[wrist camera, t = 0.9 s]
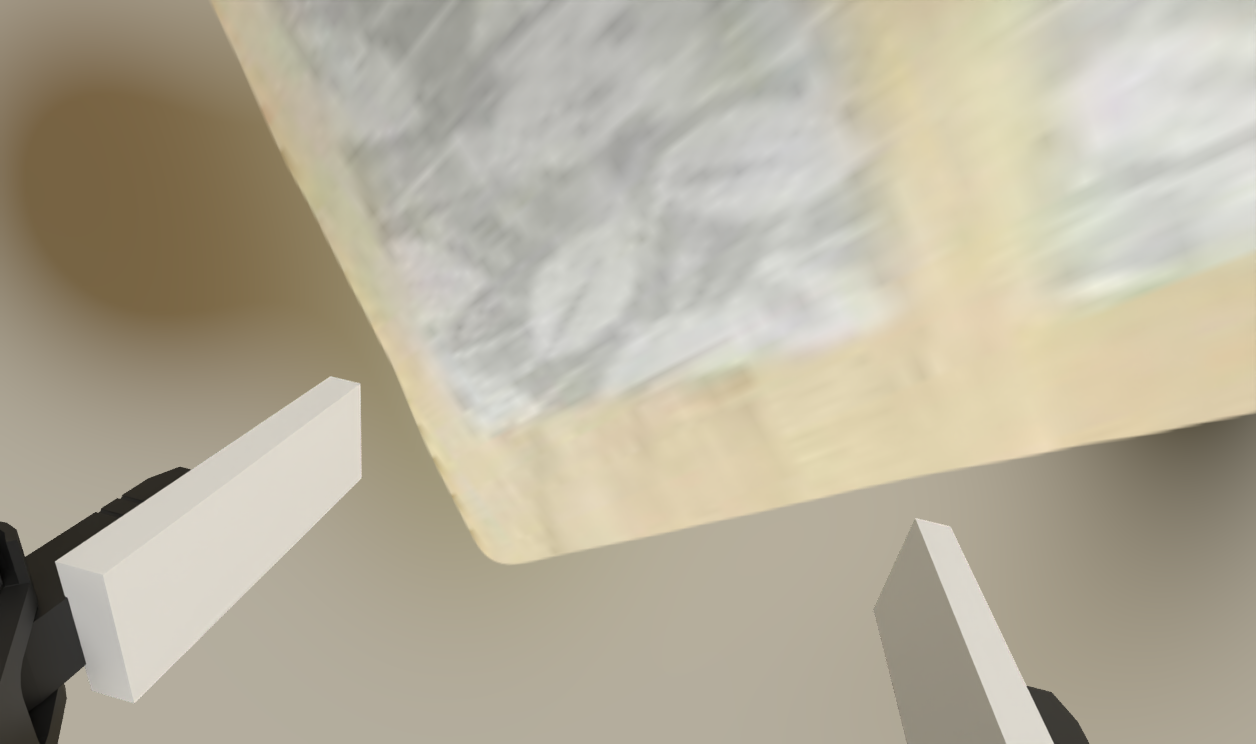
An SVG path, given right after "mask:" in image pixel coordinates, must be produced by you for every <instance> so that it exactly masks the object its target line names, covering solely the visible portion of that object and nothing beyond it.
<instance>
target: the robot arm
mask: <svg viewBox="0 0 1256 744" xmlns="http://www.w3.org/2000/svg"><path fill="white" fill-rule="evenodd" d="M360 396H361V392H360V383H356V382H352V381H348V380H344V379H339V378H336V377H331V376H330V377H329V378H327V379H326V380H324V381H323V382H321V383H320V384H318V385H317V386H315V387H314V388H312V389H311V390H309V391H308V392H306V393H305V394H303V395H302V396H300V397H299V398H298V399H296V400H294V401H293V402H292V403H290V404H289V405H287V406H286V407H284V408H283V409H281V410H280V411H278V412H277V413H275V414H274V415H272V416H271V417H269V418H268V419H266V420H265V421H263V422H262V423H260V424H259V425H257V426H256V427H254V428H253V429H251V430H250V431H249V432H247V433H245V434H244V435H242V436H241V437H240V438H238V439H237V440H235V441H234V442H232V443H231V444H229V445H228V446H226V447H225V448H223V449H222V450H220V451H219V452H217V453H216V454H214V455H213V456H211V457H210V458H208V459H207V460H205V461H204V462H202V463H201V464H199V465H198V466H196V467H195V468H194V469H192V470H190V469H186V468H183V467H178V468H175V469H172V470H170V471H167V472H164V473H162V474H159V475H156V476H154V477H151V478H148V479H147V480H145V481H143V482H142V483H140V484H139V485H137V486H136V487H134V488H133V489H131V490H129V491H128V492H126V493H125V494H123V495H122V498H121V499H118V498H117V499H115V500H114V501H112V502H111V503H109V504H108V505H106V506H104V507H103V508H101V511H100V512H99V513H97V512H95V513H93V514H92V515H90V516H89V517H87V518H86V519H84V520H82V521H81V522H79V523H78V524H76V525H75V526H73V527H71V528H70V529H68V530H67V531H65V532H64V533H62V534H61V535H59V536H57V537H56V538H54V539H53V540H51V541H49V542H48V543H46V544H45V545H43V546H42V547H40V548H38V549H37V550H35V551H34V552H32V553H31V554H29V555H28V556H26V557H25V556H24V553H23V549H22V546H21V543H20V540H19V536H18V533H17V530H16V529H15V528H13V527H12V526H11V525H9V524H8V523H5V522H0V744H58V739H59V734H60V729H61V724H62V719H63V714H64V708H65V704H66V699H67V697H66V689H65V685H64V683H65V682H66V681H67V680H68V679H70V677H72V676H73V675H74V674H75V673H76V672H78V671H79V670H80V669H81V668H82V667H84V666H85V669H86V672H87V676H88V680H89V683H90V686H91V690H92V691H94V692H98V693H101V694H105V695H108V696H111V697H114V698H118V699H121V700H125V701H128V702H131V703H135V702H136V701H137V700H138V699H139V698H140V697H141V696H142V695H143V694H144V693H145V692H146V691H147V690H148V689H149V688H150V687H151V686H152V685H153V684H154V683H155V682H156V681H157V680H158V679H159V678H160V677H161V676H162V675H163V674H164V673H165V672H166V671H167V670H168V669H169V668H170V667H171V666H172V665H174V663H176V661H177V660H178V659H179V658H181V657H182V656H183V654H185V652H187V650H189V648H191V647H192V646H193V645H194V644H195V643H196V642H197V640H199V639H200V638H201V637H202V636H203V635H204V634H205V633H206V632H207V631H208V630H209V629H210V628H211V627H212V626H213V625H214V624H215V623H216V622H217V621H218V620H219V619H220V618H221V617H222V616H223V615H224V614H225V613H226V612H227V611H228V610H229V609H230V608H231V607H232V606H233V605H234V604H235V603H236V602H237V601H238V600H239V599H240V598H241V597H242V596H243V595H244V594H245V593H246V592H247V591H248V590H249V589H250V588H251V587H252V586H253V585H254V584H255V583H256V582H257V581H258V580H259V579H260V578H261V577H262V576H263V575H264V574H265V573H266V572H267V571H268V570H269V569H270V568H271V567H272V566H273V565H274V564H275V563H276V562H277V561H278V560H279V559H280V558H281V557H282V556H283V555H284V554H285V553H286V552H287V551H288V550H289V549H290V548H291V547H292V546H294V545H295V544H296V543H297V542H298V540H299V539H300V538H302V536H304V534H306V533H307V532H308V531H309V530H310V529H311V528H312V527H313V526H314V525H315V524H316V523H317V522H318V521H319V520H320V519H321V518H322V517H323V516H324V515H325V514H326V513H327V512H328V511H329V510H330V509H331V508H332V507H333V506H334V505H335V504H336V503H337V502H338V501H339V500H340V499H341V498H342V497H343V496H344V495H345V494H346V493H347V492H348V491H349V490H350V489H351V488H352V487H353V486H354V485H355V484H356V483H357V482H358V481H359V480H360V479H361V478H362V476H361V397H360ZM874 613H875V617H876V621H877V625H878V629H879V633H880V637H881V641H882V645H883V649H884V653H885V657H886V661H887V665H888V669H889V673H890V677H891V681H892V685H893V689H894V693H895V697H896V701H897V705H898V709H899V713H900V717H901V721H902V726H903V729H904V733H905V737H906V741H907V744H1089V742H1088V740H1087V738H1086V736H1085V734H1084V733H1083V731H1082V729H1081V727H1080V725H1079V723H1078V722H1077V720H1075V718H1074V717H1073V716H1072V715H1071V714H1070V713H1069V711H1068V710H1067V709H1066V708H1065V707H1064V706H1063V705H1062V703H1061V702H1060V701H1059V700H1058V699H1057V698H1056V697H1055V696H1054V695H1053V693H1052V692H1049V691H1045V690H1041V689H1037V688H1033V687H1029V686H1026V684H1025V682H1024V680H1023V678H1022V676H1021V674H1020V672H1019V669H1018V668H1017V666H1016V663H1015V661H1014V659H1013V657H1012V655H1011V653H1010V651H1009V648H1008V646H1007V644H1006V642H1005V640H1004V638H1003V636H1002V634H1001V632H1000V630H999V627H998V625H997V623H996V621H995V619H994V617H993V615H992V613H991V611H990V609H989V606H988V604H987V602H986V600H985V598H984V596H983V594H982V592H981V590H980V588H979V586H978V583H977V581H976V580H975V577H974V575H973V573H972V571H971V569H970V567H969V565H968V562H967V560H966V559H965V556H964V554H963V552H962V550H961V548H960V546H959V544H958V541H957V539H956V537H955V535H954V533H953V531H952V529H951V527H950V526H946V525H942V524H938V523H934V522H930V521H926V520H921V519H917V518H915V520H914V522H913V524H912V526H911V528H910V531H909V533H908V535H907V537H906V539H905V542H904V544H903V546H902V548H901V550H900V552H899V554H898V557H897V559H896V561H895V563H894V565H893V568H892V570H891V572H890V574H889V576H888V578H887V581H886V583H885V585H884V587H883V589H882V591H881V594H880V596H879V598H878V600H877V603H876V605H875V607H874Z"/></svg>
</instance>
